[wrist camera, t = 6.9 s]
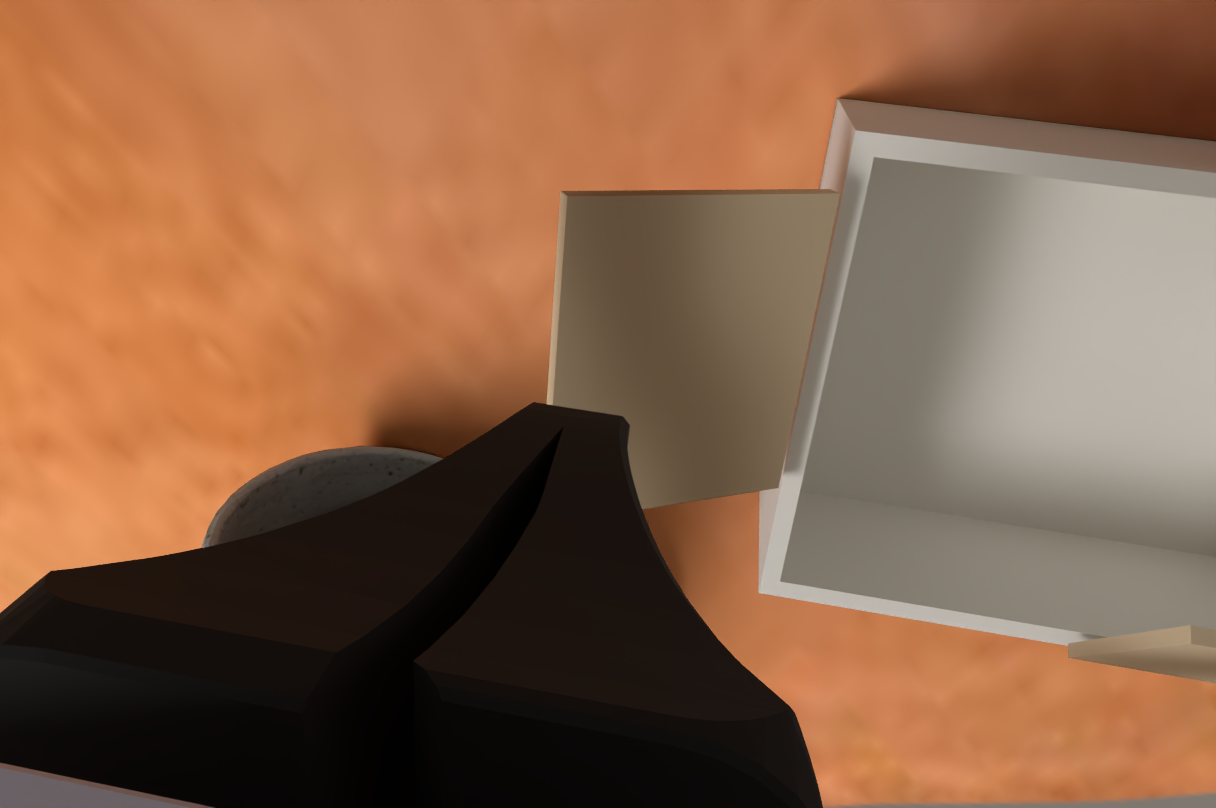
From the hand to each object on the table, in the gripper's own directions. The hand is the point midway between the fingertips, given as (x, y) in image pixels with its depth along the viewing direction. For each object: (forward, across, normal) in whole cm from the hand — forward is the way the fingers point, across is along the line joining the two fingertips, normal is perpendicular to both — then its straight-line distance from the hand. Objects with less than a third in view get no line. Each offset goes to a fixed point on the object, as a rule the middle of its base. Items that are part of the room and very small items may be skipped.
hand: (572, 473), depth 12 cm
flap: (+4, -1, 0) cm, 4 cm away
